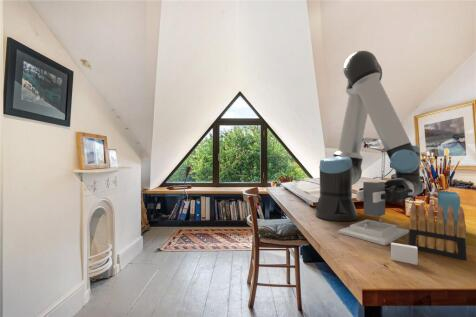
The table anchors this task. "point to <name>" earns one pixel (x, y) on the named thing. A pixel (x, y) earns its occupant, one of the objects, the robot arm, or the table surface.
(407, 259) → the eraser
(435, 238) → the ammunition clip
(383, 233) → the dock tray
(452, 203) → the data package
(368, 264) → the table surface
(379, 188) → the grey upright block
